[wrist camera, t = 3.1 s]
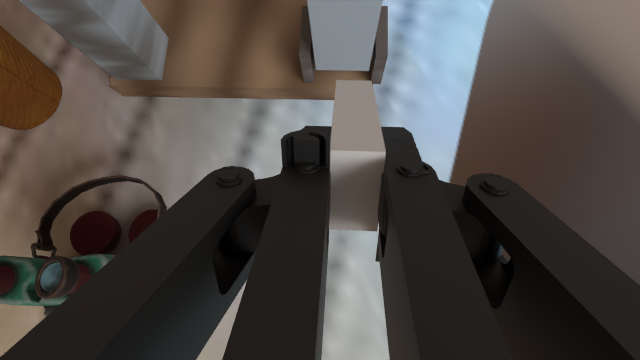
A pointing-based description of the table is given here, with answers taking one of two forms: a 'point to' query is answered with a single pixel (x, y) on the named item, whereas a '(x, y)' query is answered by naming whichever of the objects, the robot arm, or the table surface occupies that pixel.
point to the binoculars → (68, 273)
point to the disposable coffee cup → (25, 86)
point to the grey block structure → (204, 46)
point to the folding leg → (343, 33)
